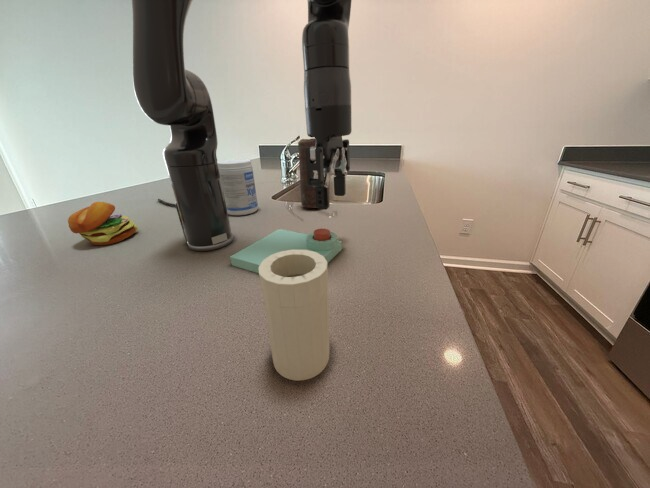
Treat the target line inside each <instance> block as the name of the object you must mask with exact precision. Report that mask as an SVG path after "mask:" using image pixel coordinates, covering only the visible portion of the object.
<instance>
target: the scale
mask: <svg viewBox="0 0 650 488" xmlns="http://www.w3.org/2000/svg"><path fill="white" fill-rule="evenodd" d="M342 249H343V240H339V239H338V234H336V233H335V232H333V231H330V239H329V240H326V241H318V240H314V231H313V232H310V233H309V234H307V233H302V232H298V231H293V230H288V229H281V228H278V229H277V230H275V231H273V232H271V233H270V234H268V235H265V236H264V237H261V238H260V239H259V240H257V241H255V242H253V243H251V244H250V245H248V246H246V247H244V248H243V249H241V250H239V251H237V252H236V253H233V254H232V255H230V256H229V259H230V264H231V266H232V267H236V268H239V269H242V270H246V271H249V272H252V273H256V274H259V270H258V268H259V266H260V264H261V263H262V261H263V260H264V259H266V258H267V257H269V256H270V255H272V254H275V253H278V252H281V251H287V250H309V251H314V252H317V253H319V254H320V255H322V256H324V258H325V259H326V261H327V263H328V264H329V263H330V262H331V260H333V259H334V258H335V257H336V255H338V254H339V253H340V252H341V251H342Z"/></svg>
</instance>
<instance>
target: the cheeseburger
mask: <svg viewBox="0 0 650 488" xmlns="http://www.w3.org/2000/svg"><path fill="white" fill-rule="evenodd" d="M115 211H116V206H115V205H114V204H113V203H112V204H111V203H109V202H105V201H95V202H92V203H91V204H90V205H89V206H86V207H84V208H81V209H79V210H77V211H75V212H73V213H71V214H70V215H69V217H68V218H67V223H68V228H69V230H70V231H71V232H72V233H73V234H79V235H80V237H82V238H83V239H84V240H87V241H88V242H89V243H90V244H91V245H95V246H107V245H112V244H117V243H119V242H122V241H123V240H125V239H127V238H129V237H131V236H132V235H134V234H136V233H137V232H138V230H139V227H138V226H137V224H136V223H134V221H133V220H132V219H130V218H129V216H127V215H122V213H120V214H114V212H115ZM113 214H114V215H113Z"/></svg>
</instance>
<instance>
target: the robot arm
mask: <svg viewBox="0 0 650 488" xmlns="http://www.w3.org/2000/svg"><path fill="white" fill-rule="evenodd" d="M193 1H194V0H131V7H132V8H131V9H132V82H133V84H132V85H133V92H134V95H135V98H136V101H137V104H138V105H139V107H140V109H141V111H142V112H143V113H144V114H145V116H146V117H147V118H149V120H151V121H152V122H153V123H156V124H158V125H162V126H168V127H169V130H170V140H169V142H168V144H167V145H166V147H164V149H163V151H162V156H163V161H164V165H165V167H166V170H167V174H168V178H169V181H170V183H171V188H172V191H173V195H174V199H175V203H170V202H167V201H164V200H163V199H160V198H157V202H160V203H161V204H164V205H167V206H171V207H175V208H176V213H177V216H178V219H179V223H180V226H181V230H182V233H183V238H184V240H185V243H186V245H187V247H188V249H189V250H191V251H195V252H210V251H214V250H219V249H222V248H225V247H226V246H229V245H230V244H231V243H233V241H234V235H233V233H232V229H231V223H230V219H229V214H228V212H227V207H226V202H225V197H224V192H223V187H222V182H221V177H220V172H219V167H218V162H219V161H218V156H217V151H218V135H217V128H216V121H215V115H214V109H213V104H212V99H211V96H210V92H209V90H208V87H207V86H206V83H204V81H203V80H202V79H201V77H200V76H199V75H197V74H196V73H194V72H193V71H191V70H188V69H186V66H185V49H184V48H185V47H184V39H185V37H184V36H185V35H184V34H185V26H186V20H187V18H188V17H187V16H188V14H189V10H190V8H191V6H192V3H193ZM351 11H352V0H307V23H306V24H305V26H304V27H303V30H302V34H301V49H302V60H303V61H302V62H303V97H304V112H305V124H306V134H307V137H309V138H314V139H316V143H315V146H313V147H306V150H305V151H306V170H307V184H308V186H313V187H315V192H316V206H317V207H316V208H317V209H318V210H328V209H329V208H330V187H329V184H330V180H331V176H333V194H334V196H337V197H344V196H345V195H346V194H347V193H346V192H347V191H346V190H347V189H346V177H347V175H348V172H350V170H351V161H350V160H351V159H350V139H346V138H345V139H343V137H345V136H346V137H347V136H349V135H351V134H352V82H351V81H352V80H351V74H350V73H351V72H350V38H349V30H350V21H351V20H350V19H351ZM313 172H314V178H313Z"/></svg>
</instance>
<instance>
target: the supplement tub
mask: <svg viewBox="0 0 650 488" xmlns="http://www.w3.org/2000/svg"><path fill="white" fill-rule="evenodd" d="M217 162H218V167H219V172H220V177H221V182H222V187H223V192H224V197H225V202H226V207H227V212H228V215H230V216H245V215H250V214H253V213H256V212H257V210H258V209H259V203H258V197H257V190H256V182H255V177H254V168H253V164H252V160H251V159H246V158H240V159H239V158H237V159H236V158H235V159H225V160H219V161H217Z"/></svg>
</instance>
